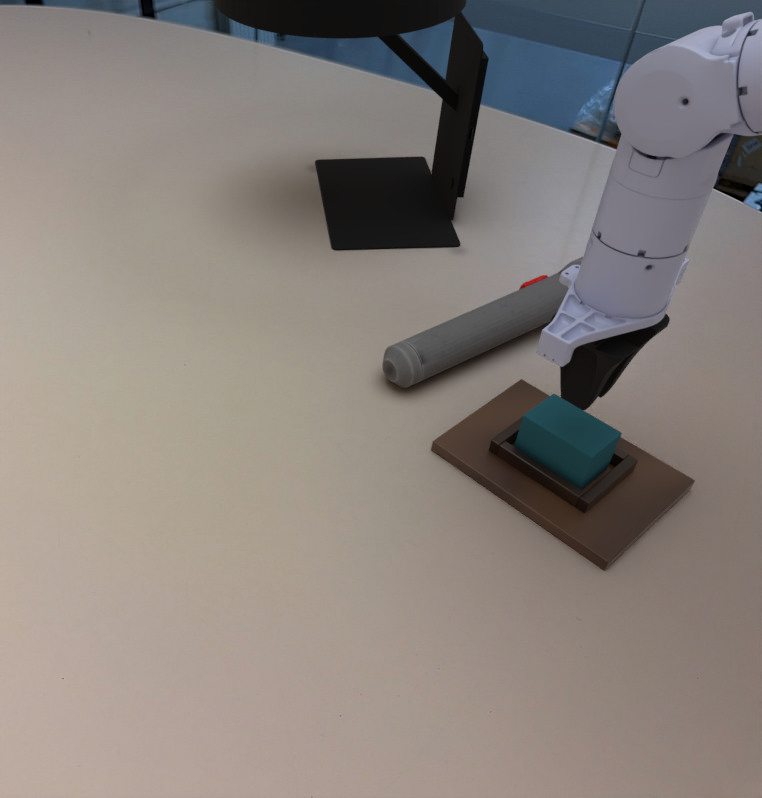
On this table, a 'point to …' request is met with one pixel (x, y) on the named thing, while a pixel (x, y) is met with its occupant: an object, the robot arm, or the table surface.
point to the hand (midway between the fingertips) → (583, 395)
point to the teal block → (567, 440)
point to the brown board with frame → (563, 480)
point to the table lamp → (392, 176)
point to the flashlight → (475, 331)
